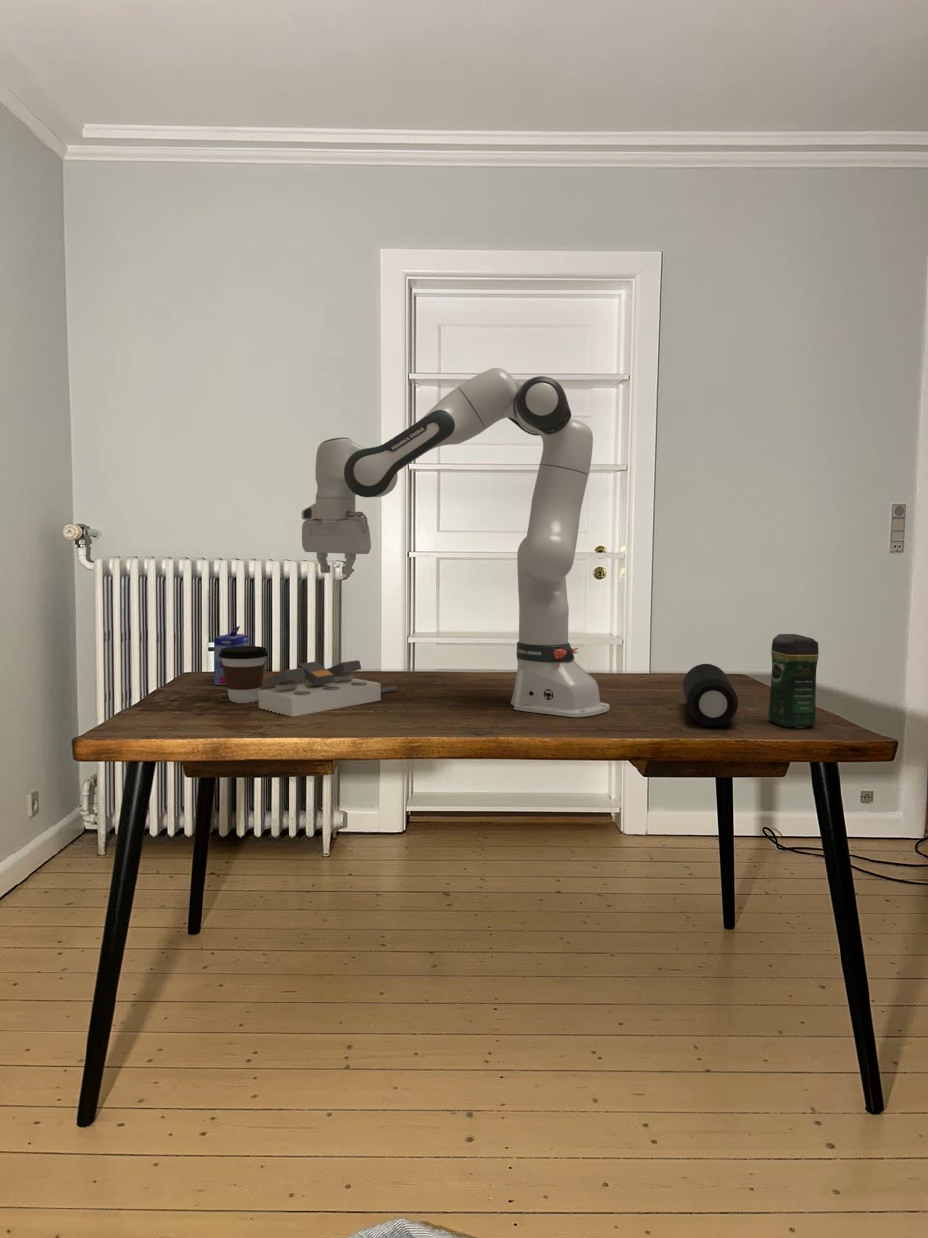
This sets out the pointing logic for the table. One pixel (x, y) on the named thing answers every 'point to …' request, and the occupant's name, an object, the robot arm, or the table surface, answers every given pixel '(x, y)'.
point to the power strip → (320, 695)
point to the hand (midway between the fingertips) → (336, 573)
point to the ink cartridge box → (224, 642)
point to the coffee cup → (243, 672)
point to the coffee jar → (793, 680)
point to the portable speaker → (709, 695)
